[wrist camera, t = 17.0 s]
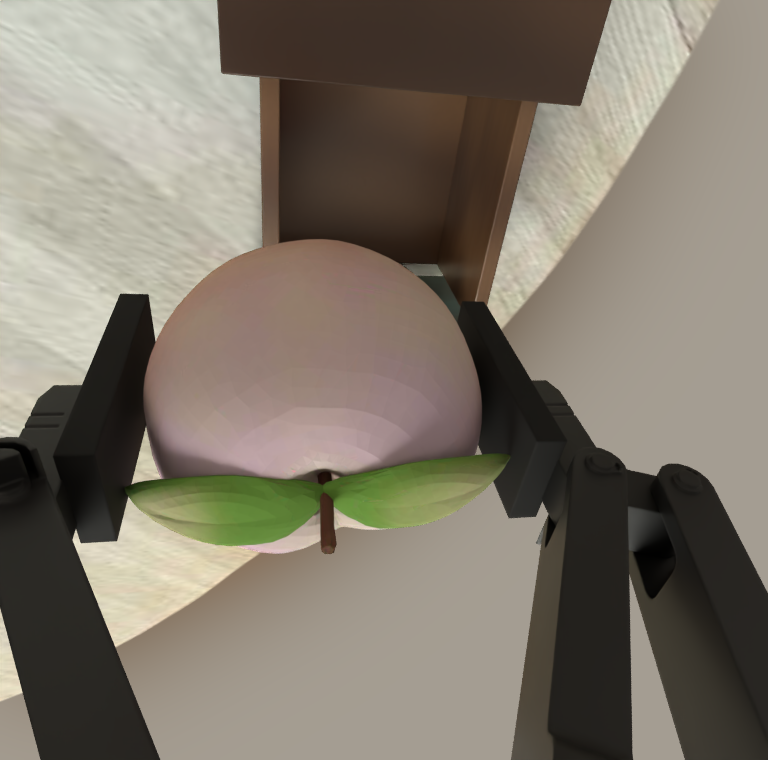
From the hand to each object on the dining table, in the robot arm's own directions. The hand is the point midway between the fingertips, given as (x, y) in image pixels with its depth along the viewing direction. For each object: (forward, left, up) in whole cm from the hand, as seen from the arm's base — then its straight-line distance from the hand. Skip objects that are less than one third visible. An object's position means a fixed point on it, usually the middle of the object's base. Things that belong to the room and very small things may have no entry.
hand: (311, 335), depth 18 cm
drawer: (+4, -3, -19) cm, 20 cm away
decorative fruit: (0, 0, -2) cm, 2 cm away
